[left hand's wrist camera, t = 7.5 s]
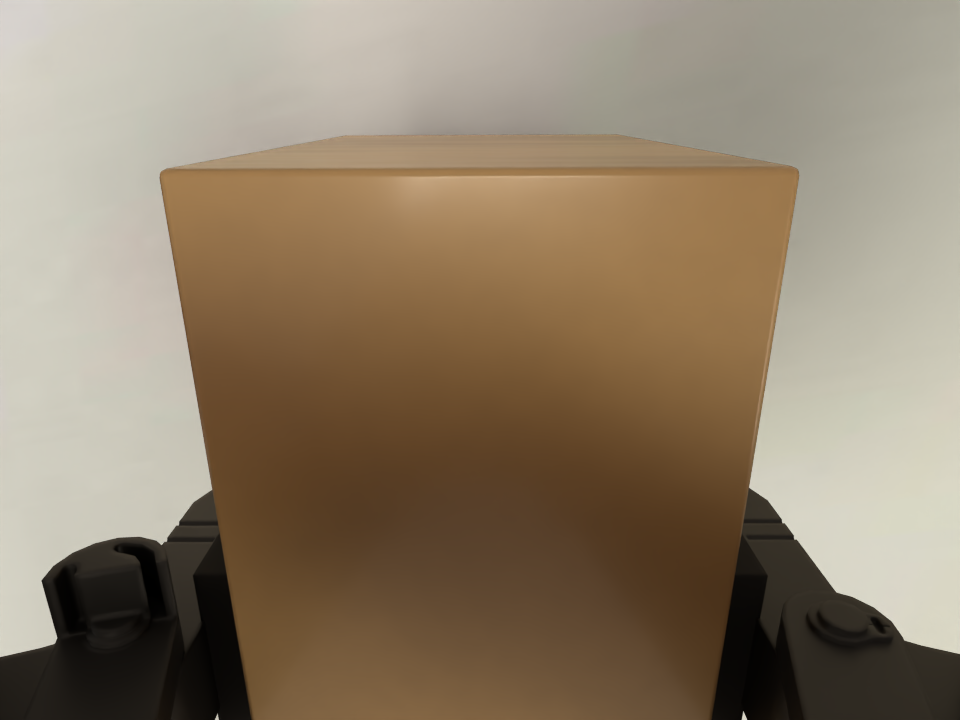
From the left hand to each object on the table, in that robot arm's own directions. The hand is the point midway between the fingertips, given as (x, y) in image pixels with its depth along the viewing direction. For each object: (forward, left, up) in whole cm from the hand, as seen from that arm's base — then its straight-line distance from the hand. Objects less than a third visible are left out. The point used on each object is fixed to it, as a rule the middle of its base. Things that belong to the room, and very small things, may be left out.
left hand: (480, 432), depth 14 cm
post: (+19, +21, -1) cm, 28 cm away
